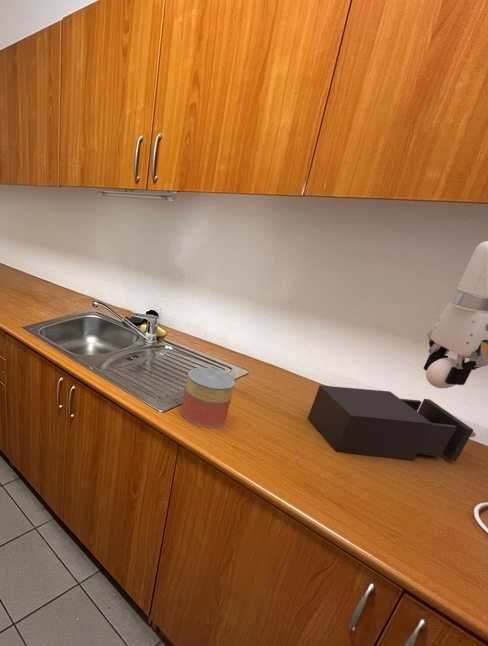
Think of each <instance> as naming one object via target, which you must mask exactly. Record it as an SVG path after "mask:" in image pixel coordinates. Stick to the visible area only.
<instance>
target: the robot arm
mask: <svg viewBox="0 0 488 646" xmlns="http://www.w3.org/2000/svg"><path fill="white" fill-rule="evenodd" d="M453 294H454V295H453V297H452V299H451V301H449V303H448V304H447V305H446V307H445V308H444V309H443V311H442V313H441V314H440V316H439V317H438V319H437V321H436V323H435V325H434V327H433V329H432V330H430V331H428V332H427V333H426V337H427V339H428V346H429V349H428V354H429V355H428V357H427V360H426V361H425V364H424V366H423V368H422V369H423V370H424V371H425V372H426V371H427V369H428V367H429V366H430V365H431V364H432V363H434V362H435V361H437V360H439V359H442V358H449V356H448V355H447V354H448V353H449V352H451V353H454V354H456V359H455V360H456V367H452V368H451V369H450V372H449V374H448V376H447V378H446V380H445V383H447V384H454V386H464V385H465V384H466V382H467V380H468V378H469V376H470V374H471V373H472V371H476V370H477V369H480V368H482V367H486V366H488V240H484V241H482V242H480V243H479V244H477V246H476V248H475V249H474V251H473V252H472V255H471V258H470V260H469V262H468V264H467V266H466V268H465V271H464V273H463V274H462V277H461V279H460V281H459V284H458V285H457V288H456V290H455V293H453ZM466 359H468V361H466Z"/></svg>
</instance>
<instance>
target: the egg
mask: <svg viewBox="0 0 488 646" xmlns="http://www.w3.org/2000/svg"><path fill="white" fill-rule="evenodd" d="M456 360H457V359H455V358H452V357H448V358H442V359H439V360H437V361H435V362H434V363H432V364H431V365H430V366H429V367H428V369H427V371H426V370H425V378H426V380H427V382H428V383H429V385H431V386H433V387H434V388H436V389H437V388H438V389H450V388H452V387H455V385H454V384H447V383H445V380H446V378H447V376H448V374H449V372H450V369H451V368H452V367H456Z"/></svg>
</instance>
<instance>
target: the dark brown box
mask: <svg viewBox="0 0 488 646" xmlns="http://www.w3.org/2000/svg"><path fill="white" fill-rule="evenodd" d="M401 399H402V398H399V396H397V395H395V393H393V392H392V391H390V390H377V389H365V388H357V387H355V388H353V387H345V386H344V387H343V386H333V385H322V384H319V385H318V389H317V391H316V395H315V397H314V399H313V402H312V405H311V408H310V411H309V413H308V416H307V420H308V421H309V422H310V424H311V425H312V426H313V427H314V428H315V429H316V430H317V431H318V433H319V434H320V435H321V436H322V437H323V439H324V440H325V441H326V442H327V443H328V444H329V446H330V447H331V448H332V449H333V450H334V452H336V453H342V454H349V455H350V454H351V455H359V456H368V457H377V458H385V459H392V460H393V459H394V460H401V461H411V462H414V461H415V459H416V458H417V455H418V454H417V453H418V451H419V449H420V447H421V445H422V443H423V442H424V440H425V438H426V436H427V434H428V432H429V430H430V428H431V426H432V423H431V422H430V421H428V420H427V419H426V418H424V417H423V416H422V415H420V414H419V413H418V411H415V410H414V409H413V408H411V407H410V406H409V405H407V404H406V403H405V402H403V401H402V400H401Z"/></svg>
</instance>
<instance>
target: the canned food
mask: <svg viewBox="0 0 488 646" xmlns="http://www.w3.org/2000/svg"><path fill="white" fill-rule="evenodd" d="M235 386H236V380H235V378H234V377H232V376H231V375H230V374H228V373H227V372H226V371H225V372H224V371H223V370H219V369H216V368H212V367H202V366H199V367H193V368H191V369H189V370H188V371H187V377H186V380H185V387H184V391H183V396H182V400H181V406H180V409H179V412H180V411H181V412H180V414H181V416H182V415H183V416H184V417H185V418H186V421H188V420H189V422H190V423H192V424H194V425H196V426H199V427H203V428H220V427H222V426H224V425H225V424H226V422H227V416H228V413H229V409H230V405H231V401H232V398H233V394H234V389H235ZM183 416H182V417H183ZM184 417H183V418H184ZM185 418H184V419H185Z"/></svg>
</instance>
